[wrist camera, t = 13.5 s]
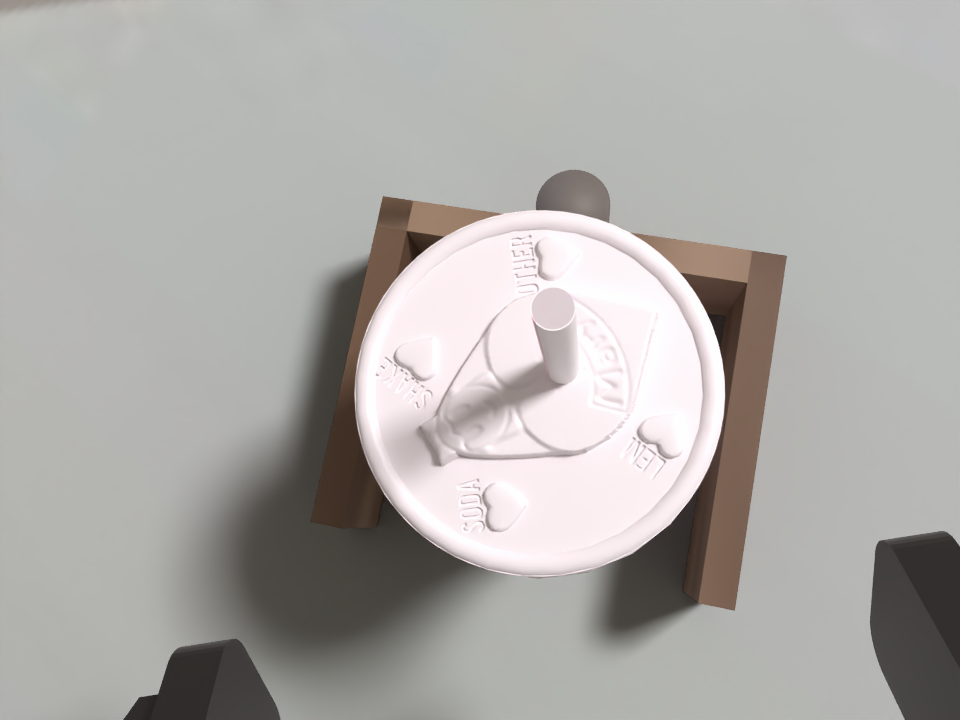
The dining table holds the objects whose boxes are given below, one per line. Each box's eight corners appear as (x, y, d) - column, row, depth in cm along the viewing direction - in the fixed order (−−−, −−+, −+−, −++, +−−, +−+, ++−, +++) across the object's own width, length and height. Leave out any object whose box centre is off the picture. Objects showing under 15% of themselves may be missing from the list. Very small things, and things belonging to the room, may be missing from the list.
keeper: (349, 521, 25) (274, 522, 19) (413, 226, 26) (361, 140, 20) (713, 597, 23) (755, 623, 17) (761, 279, 24) (815, 202, 18)
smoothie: (720, 481, 24) (902, 426, 10) (513, 602, 24) (410, 713, 10) (595, 283, 25) (603, -5, 11) (400, 398, 25) (173, 250, 11)
